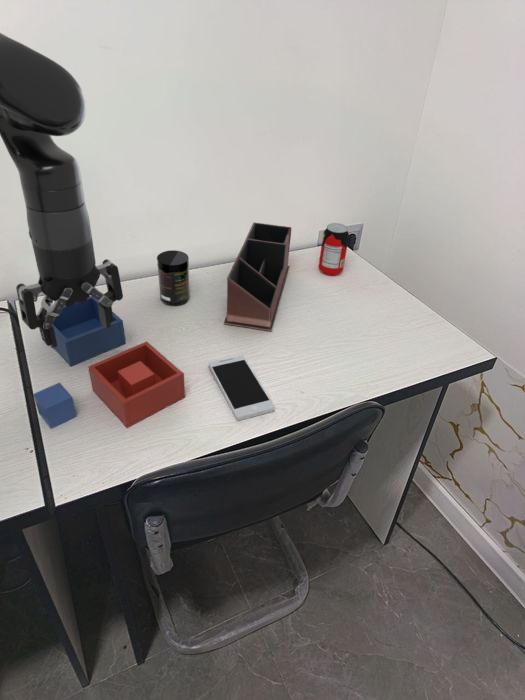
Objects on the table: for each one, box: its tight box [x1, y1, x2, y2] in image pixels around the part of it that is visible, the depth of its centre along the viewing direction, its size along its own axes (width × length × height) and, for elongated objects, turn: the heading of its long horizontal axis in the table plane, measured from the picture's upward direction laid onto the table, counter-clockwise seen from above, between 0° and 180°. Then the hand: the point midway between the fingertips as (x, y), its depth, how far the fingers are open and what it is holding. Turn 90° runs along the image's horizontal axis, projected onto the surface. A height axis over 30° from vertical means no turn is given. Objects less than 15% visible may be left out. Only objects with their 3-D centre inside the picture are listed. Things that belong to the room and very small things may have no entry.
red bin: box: [87, 340, 186, 429], centre depth 86 cm, size 12×12×6 cm
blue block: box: [32, 382, 78, 429], centre depth 81 cm, size 4×4×4 cm
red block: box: [118, 361, 155, 397], centre depth 86 cm, size 4×4×4 cm
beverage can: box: [318, 222, 350, 277], centre depth 124 cm, size 6×6×12 cm
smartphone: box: [208, 354, 275, 421], centre depth 90 cm, size 7×15×1 cm, turn 23°
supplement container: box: [156, 250, 191, 307], centre depth 109 cm, size 7×7×10 cm
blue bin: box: [52, 295, 127, 367], centre depth 97 cm, size 12×12×6 cm
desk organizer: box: [223, 222, 292, 332], centre depth 113 cm, size 10×29×11 cm, turn 170°
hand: (80, 335), depth 75 cm, fingers open, 8 cm apart
